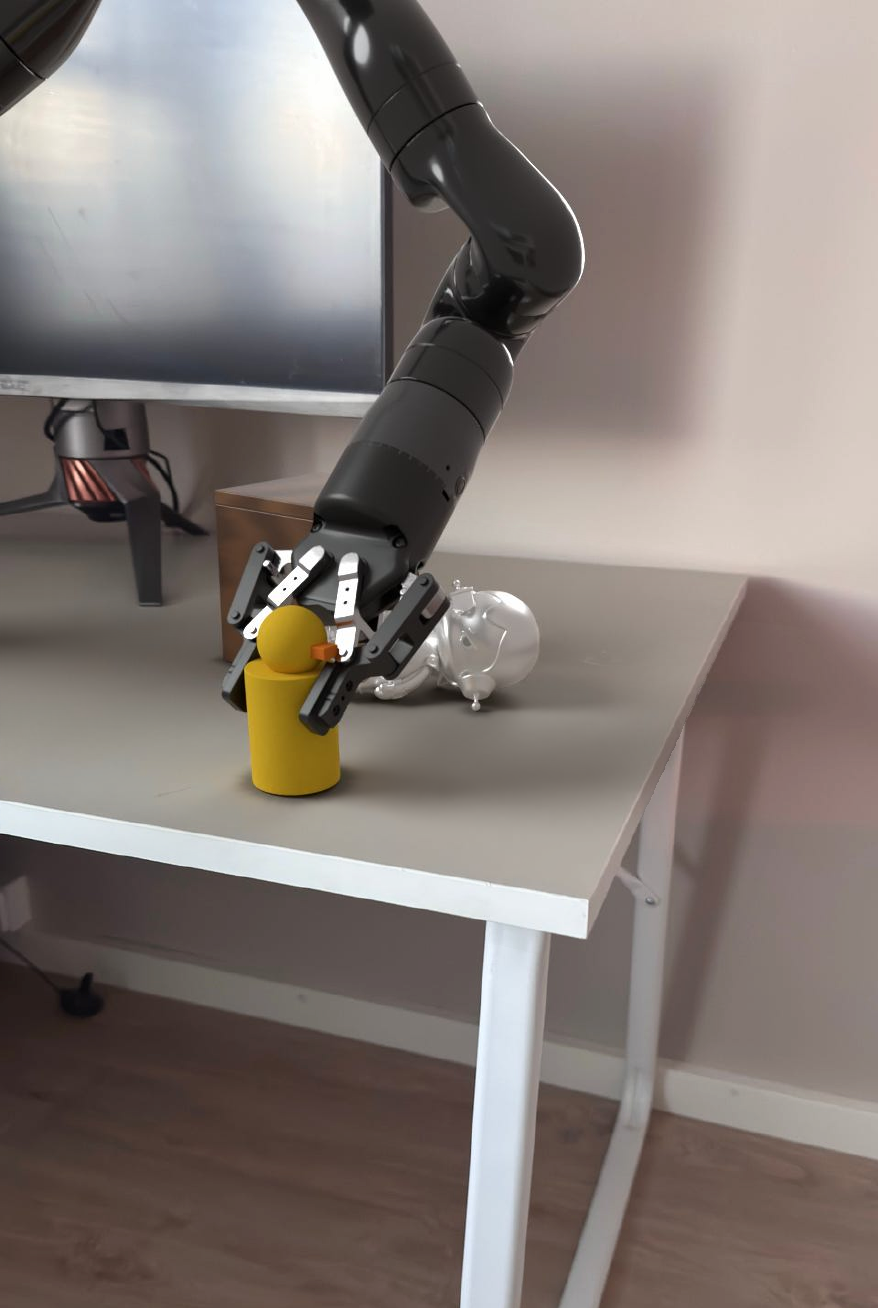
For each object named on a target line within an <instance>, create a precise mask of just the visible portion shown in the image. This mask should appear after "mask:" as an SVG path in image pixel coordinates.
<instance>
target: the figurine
mask: <svg viewBox="0 0 878 1308" xmlns="http://www.w3.org/2000/svg"><path fill="white" fill-rule="evenodd" d="M451 585H452V588H454V590H452V591H451V592H449V594H448V596H447V597H448V599H449V600H450V607H449V609H448V610H447V612H446V613H445V614H444V616H443V617H442V618H441V620H440V621H439V622H438V624H437V625H436V626H435V628H434V629H433V630H432V632H431V633H430V634H429V636H428V637H427V638H426V640H425V641H424V642H423V644H422V645H421V646H420V648H419V649H418V650H417V652H416V653H415V655H414V656H413V657H412V659H411V660H410V661H409V663H408V664H407V665H406V667H405V668H404V669H403V671H402V672H401V673H400V675H399V676H398V677H397V678H396V679H394V680H385V679H384V678H383V677H382V676H378V677H370V678H369V679H368V680H367V681H366V682H364V683H360V684H359V686H358V688H357V690H356V691H355V693H354V694H356V693H359V694H363V693H364V691H369V690H373V694H374V696H375V697H376V698H378V699H380V700H397V699H401V698H403V697H405V696H408V695H409V693H411V692H413V691H414V690H416V689H417V688H418V687H420V686H421V685H423V684H424V683H425V682H427V680H429V678H430V677H432V678H435V679H437V684H436V685H437V686H438V687H442V686H445V685H447V684H450V685H451V686H452V687H455V688H458V689H459V690H460V691H461V693H462V695H463V696H464V697H465V698H466V699H469V700H473V702H472V703H471V709H472V710H473V711H476V712H477V711H479V710H480V709H481V704H480V702H479V701H482V700H484V699H487V698H488V697H490V695H491V693H492V691H495V690H500V689H505V688H508V687H511V686H514V685H516V684H518V683H520V682H521V681H523V680H524V679H525V678H526V677H527V676H529V674H530V673H531V672H532V671H533V669H534V667H535V666H536V664H537V661H538V659H539V655H540V647H541V645H540V644H541V642H540V641H541V634H540V629H539V626H538V624H537V621H536V618H535V616H534V614H533V612H532V610H531V609H530V608H529V606H528V605H527V604H526V603H525V602H524V601H522V599H519V598H518V597H516V596H514V595H513V594H511V593H508V592H505V591H501V590H480V591H475V590H474V589H473V585H472V586H462V587H461V581H460V580H458V579H455V580H453V581H452V583H451ZM391 611H392V610H390V611H384V614H383V622H384V621H385V619H386V618H387V617H388V615H389V614H390V613H391ZM383 622H382V623H383ZM325 629H326V632H327V637H328V642H329V643H333V644H335V641H336V634H337V627H336V626H325ZM398 640H399V638H398ZM398 640H397V641H398ZM397 641H396V642H395V644H396V643H397ZM395 644H394V645H395ZM394 645H393V646H392V648H393V647H394ZM392 648H391V649H392ZM391 649H390V650H389V652H390V651H391ZM331 660H333V661H334V662H335V659H334V658H331Z"/></svg>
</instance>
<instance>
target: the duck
mask: <svg viewBox="0 0 878 1308" xmlns="http://www.w3.org/2000/svg"><path fill="white" fill-rule="evenodd" d="M257 648H258V651H259V654H260V656H261V658H258V659H255V660H253V661H251V662H249V663H248V664H247V665H246V666H245V668H244V674H245V687H246V701H247V714H246V715H247V725H248V727H247V728H248V740H249V752H250V765H251V766H250V768H251V781H252V783H253V785H254V786H255V788H257V789H258V790H260V791H261V792H265V793H269V794H272V795H278V796H304V795H310V794H315V793H320V792H322V791H325V790H328V789H330V788H333V787H334V786H335V785H337V783H338V782H339V781H340V779H341V761H340V760H341V758H340V757H341V756H340V736H339V735H340V734H339V723H338V724H337V725H336V726H335V727H334V728H333V729H332V728H330V730H329V731H328V733H327V734H326V735H325V736H320V735H317V734H314V733H311V732H310V731H309V730H308V729H307V728H306V727H305V726H304V725H303V724H302V723H301V722H300V720H299V712H300V710H301V708H302V706H303V704H304V702H305V701H306V699H307V697H308V695H309V693H310V691H311V689H312V688H313V686H314V684H315V682H316V680H317V678H318V676H319V674H320V673H321V671H322V669H323V667H324V665H325V663H326V661H327V662H331V663H334V661H333V660H331V658H334V657H335V656H336V655H337V653H338V645H337V644H333V643H329V642H328V637H327V632H326V629H325V626H324V624H323V623H322V621H321V620H320V618H319V617H318V616H317V615H316V614H315V613H313V612H312V611H310V610H308V609H306V608H304V607H301V606H295V605H288V606H283V607H280V608H277V609H275V610H273V611H272V612H270V613H269V614H268V615H267V616H266V617H265V618H264V620H263V621H262V623H261V624H260V627H259V629H258V633H257Z"/></svg>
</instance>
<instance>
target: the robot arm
mask: <svg viewBox="0 0 878 1308" xmlns="http://www.w3.org/2000/svg"><path fill="white" fill-rule="evenodd" d="M295 1H296V3H297V4H298V6H299V8H300V10H301V11H302V13H303V14H304V16H305V18H306V19H307V21H308V23H309V25H310V27H311V29H312V30H313V32H314V34H315V36H316V37H317V40H318V42H319V44H320V46H321V49H322V50H323V52H324V54H325V57H326V59H327V61H328V63H329V65H330V67H331V69H332V71H333V73H334V75H335V77H336V79H337V82H338V84H339V85H340V88H341V90H342V92H343V94H344V95H345V97H346V99H347V101H348V103H349V105H350V107H351V109H352V111H353V113H354V115H355V116H356V118H357V120H358V122H359V124H360V126H361V127H362V129H363V131H364V132H365V134H366V136H367V138H368V139H369V141H370V143H371V144H372V146H373V148H374V149H375V151H376V153H377V155H378V156H379V158H380V160H381V162H382V163H383V165H384V167H385V169H386V170H387V172H388V173H389V175H390V176H391V179H392V180H393V182H394V183H395V185H396V187H397V189H398V190H399V191H400V193H401V195H402V196H403V197H404V198H405V200H406V201H407V202H408V204H409V205H410V206H411V207H412V208H413V209H415V210H417V211H419V212H421V213H426V214H435V213H439V212H443V211H445V210H448V209H450V210H451V211H452V212H453V213H454V214H455V215H456V216H457V217H458V218H459V219H460V221H461V223H463V224H464V226H465V227H466V229H467V231H468V233H469V237H468V238H467V240H466V241H465V242H464V244H463V245H462V246H461V248H460V249H459V251H457V254H456V255H455V256H454V258H453V260H452V261H451V262H450V264H449V266H448V268H447V270H446V271H445V272H444V275H443V277H442V279H441V281H440V282H439V284H438V287H437V288H436V290H435V293H434V294H433V296H432V299H431V301H430V304H429V306H428V308H427V311H426V313H425V315H424V318H423V320H422V322H421V325H420V329H419V330H418V331H417V333H416V334H415V335H414V337H413V338H412V340H411V341H410V343H409V344H408V345H407V347H406V349H405V350H404V352H403V354H402V356H401V357H400V359H399V360H398V363H397V364H396V367H395V368H394V370H393V371H392V373H391V375H390V377H389V379H388V381H387V382H386V384H385V386H384V388H383V389H382V390H381V392H380V394H379V396H378V397H377V398H376V399H375V400H374V401H373V403H372V404H371V405H370V407H369V408H368V409H367V411H366V412H365V413H364V415H363V417H362V419H361V420H360V421H359V424H358V426H357V427H356V429H355V430H354V432H353V435H352V436H351V438H350V440H349V441H348V443H347V445H346V447H345V448H344V450H343V452H342V453H341V455H340V457H339V459H338V460H337V462H336V464H335V466H334V468H333V470H332V472H331V473H330V474H331V475H330V477H329V479H328V480H327V482H326V484H325V486H324V487H323V489H322V491H321V493H320V494H319V496H318V498H317V500H316V502H315V505H314V513H313V524H312V528H311V530H310V532H309V533H308V534H307V535H306V537H305V538H303V539H302V540H301V541H300V542H299V543H298V544H297V545H296V546H295V547H294V549H293V550H273V548H272V547H271V546H270V545H269V544H268V543H267V542H265V541H261V542H259V543H257V544H256V545H255V546H254V547H253V549H252V552H251V554H250V557H249V560H248V562H247V565H246V568H245V570H244V573H243V576H242V578H241V581H240V584H239V586H238V589H237V592H236V594H235V597H234V600H233V602H232V605H231V608H230V610H229V613H228V616H227V621H228V623H229V624H230V625H231V626H232V627H233V628H234V629H235V630H236V631H237V632H238V633H239V634H240V635H241V636H242V637H243V639H244V641H243V645H242V647H241V649H240V651H239V652H238V654H237V656H236V658H235V659H234V661H233V662H231V666H230V667H229V668H228V670H227V672H226V674H225V676H223V679H222V683H221V697H222V699H223V700H224V701H225V702H226V703H227V704H228V705H229V706H231V708H233V709H234V710H235V711H238V712H242V713H245V714H246V713H247V701H246V687H245V674H244V668H245V666H246V665H247V664H248V663H249V662H251V661H253V660H255V659H258V658H261V656H260V654H259V651H258V648H257V633H258V629H259V627H260V624H261V623H262V621H263V620H264V618H265V617H266V616H267V615H268V614H269V613H270V612H272V611H273V610H275V609H277V608H280V607H283V606H288V605H291V603H292V601H293V600H294V599H295V600H296V602H297V603H298V605H299V606H301V607H304V608H306V609H308V610H310V611H312V612H313V613H315V614H316V615H317V616H318V617H319V618H320V620H321V621H322V623H323V624H329V623H335V624H336V627H337V634H336V641H335V644H337V645H338V653H337V655H336V656H335V657H334V659H335V662H334V663H331V662H327V661H326V663H325V665H324V667H323V669H322V671H321V673H320V674H319V676H318V678H317V680H316V682H315V684H314V686H313V688H312V689H311V691H310V693H309V695H308V697H307V699H306V701H305V702H304V704H303V706H302V708H301V710H300V712H299V720H300V722H301V723H302V724H303V725H304V726H305V727H306V728H307V729H308V730H309V731H310V732H311V733H314V734H317V735H320V736H325V735H326V734H327V733H328V731H329V730H330V728H332V729H333V728H334V727H335V726H336V725H337V724H338V725H339V723H340V722H341V720H342V718H343V716H344V714H345V713H346V710H347V709H348V707H349V705H350V702H351V701H352V699H353V697H354V695H355V694H356V693H355V691H356V690H357V688H358V686H359V684H360V683H364V682H366V681H367V680H368V679H369V678H370V677H378V676H382V677H383V678H384V679H385V680H394V679H396V678H397V677H398V676H399V675H400V673H401V672H402V671H403V669H404V668H405V667H406V665H407V664H408V663H409V661H410V660H411V659H412V657H413V656H414V655H415V653H416V652H417V650H418V649H419V648H420V646H421V645H422V644H423V642H424V641H425V640H426V638H427V637H428V636H429V634H430V633H431V632H432V630H433V629H434V628H435V626H436V625H437V624H438V622H439V621H440V620H441V618H442V617H443V616H444V614H445V613H446V612H447V610H448V609H449V607H450V600H449V599H448V597H449V596H447V595H446V592H445V591H444V588H443V587H442V586H441V584H440V583H439V582H438V581H437V579H436V578H435V576H434V575H433V574H432V573H430V572H424V573H421V574H419V576H418V575H416V573H417V572H419V573H420V571H422V570H423V569H424V568H425V567H426V565H427V563H428V561H429V560H430V558H431V556H432V554H433V552H434V550H435V548H436V546H437V545H438V543H439V541H440V538H441V536H442V535H443V533H444V531H445V529H446V527H447V525H448V523H449V521H450V519H451V518H452V516H453V514H454V511H455V510H456V508H457V506H458V504H459V502H460V500H461V498H462V497H463V495H464V493H465V491H466V489H467V487H468V485H469V484H470V481H471V480H472V477H473V475H474V471H475V469H476V465H477V462H478V461H479V460H478V459H479V457H480V454H481V453H482V450H483V447H484V446H485V443H486V442H487V441H488V438H489V436H490V435H491V433H492V430H493V429H494V427H495V425H496V423H497V421H498V419H499V417H500V415H501V413H502V412H503V409H504V407H505V405H506V403H507V401H508V399H509V397H510V394H511V392H512V391H511V390H512V387H513V384H514V378H515V377H514V376H515V369H514V368H515V367H514V365H515V363H516V362H517V360H518V358H519V356H520V354H521V352H522V351H523V349H524V347H525V346H526V344H528V341H529V340H530V339H531V338H532V336H533V335H534V333H535V331H536V330H537V329H538V328H539V327H540V326H541V325H542V323H544V321H545V320H546V319H547V318H548V317H549V316H550V315H551V314H552V313H553V312H554V311H555V310H556V309H557V308H558V306H559V305H561V304H562V303H563V301H565V300H566V299H567V297H568V296H569V295H570V294H571V293H572V292H573V291H574V289H575V288H576V286H577V285H578V283H579V281H580V279H581V276H582V274H583V271H584V267H585V247H584V239H583V235H582V232H581V228H580V226H579V225H580V224H579V223H578V220H577V218H576V215H575V214H574V212H573V210H572V208H571V206H570V205H569V204H568V202H567V200H566V199H565V198H564V197H563V194H561V193H560V191H558V189H557V188H556V187H555V186H554V185H553V184H552V183H551V182H550V181H549V180H548V179H547V177H545V176H544V175H543V174H542V172H540V171H539V170H538V169H537V168H536V167H535V165H533V163H531V161H530V160H529V159H528V158H527V157H526V156H525V155H524V153H522V152H521V151H520V150H519V149H518V147H516V146H515V145H514V144H513V142H511V141H510V140H509V139H508V138H506V137H505V135H503V133H501V132H500V131H499V130H498V129H497V127H496V126H495V125H494V124H493V122H492V120H491V119H490V117H489V114H488V113H487V111H486V109H485V107H484V106H483V104H482V102H481V101H480V99H479V97H478V95H477V93H476V91H475V90H474V88H473V86H472V85H471V83H470V81H469V79H468V77H467V76H466V74H465V72H464V70H463V69H462V66H461V65H460V63H459V61H457V59H456V57H455V55H454V53H453V52H452V50H451V49H450V47H449V45H448V44H447V42H446V40H445V39H444V38H443V36H442V34H441V32H440V31H439V29H438V28H437V27H436V25H435V24H434V22H433V21H432V19H431V18H430V16H429V15H428V13H427V12H426V11H425V9H424V8H423V6H422V5H421V4H420V2H419V1H418V0H295ZM102 2H103V0H0V117H2V116H3V115H5V114H6V113H8V111H10V110H12V108H14V107H15V106H16V105H17V104H19V103H20V102H21V101H22V100H23V99H25V98H26V97H27V96H28V95H30V94H31V93H32V92H33V91H35V90H36V89H37V88H38V87H40V86H41V85H42V84H43V83H44V82H46V81H47V80H48V79H49V78H51V77H52V76H53V75H54V74H55V73H56V72H57V71H58V70H59V69H61V67H62V66H63V65H64V64H65V63H66V62H67V61H68V59H70V57H71V56H72V54H73V53H74V52H75V50H76V49H77V48H78V46H79V45H80V43H81V41H82V40H83V38H84V36H85V35H86V33H87V31H88V29H89V28H90V26H91V24H92V22H93V20H94V18H95V16H96V14H97V12H98V10H99V8H100V7H101V5H102ZM398 601H399V602H398ZM397 602H398V603H397ZM395 603H397V605H396V606H395V607H394V609H393V610H392V611H391V613H390V614H389V615H388V617H387V618H386V619H385V621H384V622H383V614H384V611H385V610H387V609H388V608H390V607H391V606H393V605H394V604H395ZM252 607H253V612H252V614H251V616H250V612H251V609H252ZM382 622H383V623H382ZM398 638H399V640H398ZM397 640H398V641H397ZM396 641H397V643H396V644H395V642H396ZM394 644H395V645H394ZM393 645H394V647H393V648H392V646H393ZM391 648H392V649H391ZM390 649H391V651H390V652H389V650H390Z"/></svg>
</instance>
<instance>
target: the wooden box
mask: <svg viewBox="0 0 878 1308" xmlns="http://www.w3.org/2000/svg"><path fill="white" fill-rule="evenodd" d="M330 475H331V473H329V472H322V471H321V472H315V473H307V474H303V475H296V476H291V477H285V478H278V479H273V480H267V481H262V482H255V483H249V484H244V485H237V486H232V487H231V486H230V487H226V488H219V489H215V490H214V502H215V520H216V521H215V522H216V523H215V524H216V541H217V542H216V543H217V564H218V578H219V579H218V581H219V582H218V583H219V602H220V603H219V604H220V620H221V621H220V622H221V641H222V643H221V644H222V660H223V661H225V662H229V663H233V661H234V659H235V658H236V656H237V654H238V652H239V651H240V649H241V647H242V645H243V641H244V639H243V637H242V636H241V635H240V634H239V633H238V632H237V631H236V630H235V629H234V628H233V627H232V626H231V625H230V624H229V623H228V621H227V616H228V613H229V610H230V608H231V605H232V602H233V600H234V597H235V594H236V592H237V589H238V586H239V584H240V581H241V578H242V576H243V573H244V570H245V568H246V565H247V562H248V560H249V557H250V554H251V552H252V549H253V547H254V546H255V545H256V544H257V543H259V542H261V541H265V542H267V543H268V544H269V545H270V546H271V547H272V548H273V550H293V549H294V547H295V546H296V545H297V544H298V543H299V542H300V541H301V540H302V539H303V538H305V537H306V535H307V534H308V533H309V532H310V530H311V528H312V524H313V513H314V505H315V502H316V500H317V498H318V496H319V494H320V493H321V491H322V489H323V487H324V486H325V484H326V482H327V480H328V479H329V477H330ZM416 575H418V576H419V575H420V571H419V572H417V573H416ZM398 602H399V601H398ZM398 602H397V603H398ZM397 603H395V604H394V605H393V606H391V607H390V608H388V609H387V610H385V611H390V610H393V609H394V607H395V606H396V605H397ZM291 605H295V606H299V605H298V603H297V602H296V600H295V599H294V600H293V601H292V603H291ZM252 612H253V607H252V609H251V612H250V616H251V614H252ZM324 626H336V624H335V623H329V624H324Z"/></svg>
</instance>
